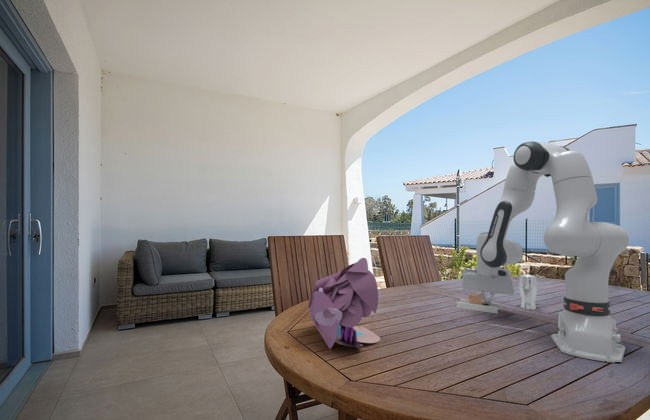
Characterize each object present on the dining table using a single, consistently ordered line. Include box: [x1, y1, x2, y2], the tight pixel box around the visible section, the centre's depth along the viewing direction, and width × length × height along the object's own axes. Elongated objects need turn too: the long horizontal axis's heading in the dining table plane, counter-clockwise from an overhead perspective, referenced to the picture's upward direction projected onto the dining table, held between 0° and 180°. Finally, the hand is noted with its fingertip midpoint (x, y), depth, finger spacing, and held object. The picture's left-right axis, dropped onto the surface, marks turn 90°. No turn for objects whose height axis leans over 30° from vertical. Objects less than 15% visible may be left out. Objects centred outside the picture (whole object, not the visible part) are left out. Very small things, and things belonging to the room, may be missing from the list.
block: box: [468, 292, 484, 305], centre depth 150 cm, size 5×5×6 cm
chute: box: [456, 298, 501, 314], centre depth 150 cm, size 8×16×4 cm, turn 57°
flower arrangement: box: [308, 257, 381, 350], centre depth 115 cm, size 35×24×28 cm
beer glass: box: [518, 274, 538, 310], centre depth 152 cm, size 7×7×15 cm
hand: (487, 302), depth 148 cm, fingers closed
